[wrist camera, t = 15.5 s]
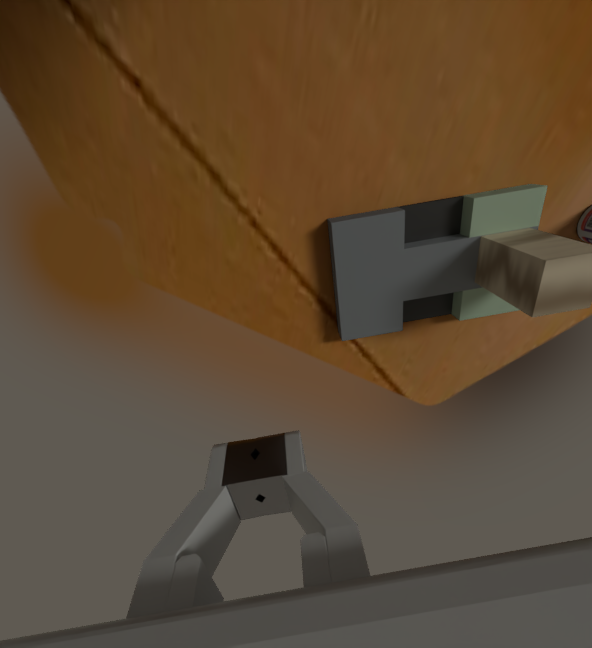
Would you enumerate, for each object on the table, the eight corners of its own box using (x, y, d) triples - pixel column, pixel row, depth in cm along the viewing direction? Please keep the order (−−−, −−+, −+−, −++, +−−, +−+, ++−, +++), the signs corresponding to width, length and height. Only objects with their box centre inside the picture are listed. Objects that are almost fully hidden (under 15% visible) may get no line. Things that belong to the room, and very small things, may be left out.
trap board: (327, 218, 38) (331, 222, 35) (531, 183, 38) (547, 185, 36) (338, 331, 45) (342, 340, 43) (507, 302, 45) (519, 310, 43)
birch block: (480, 236, 38) (546, 260, 29) (529, 227, 38) (609, 249, 29) (474, 282, 41) (532, 317, 32) (519, 274, 41) (589, 307, 32)
